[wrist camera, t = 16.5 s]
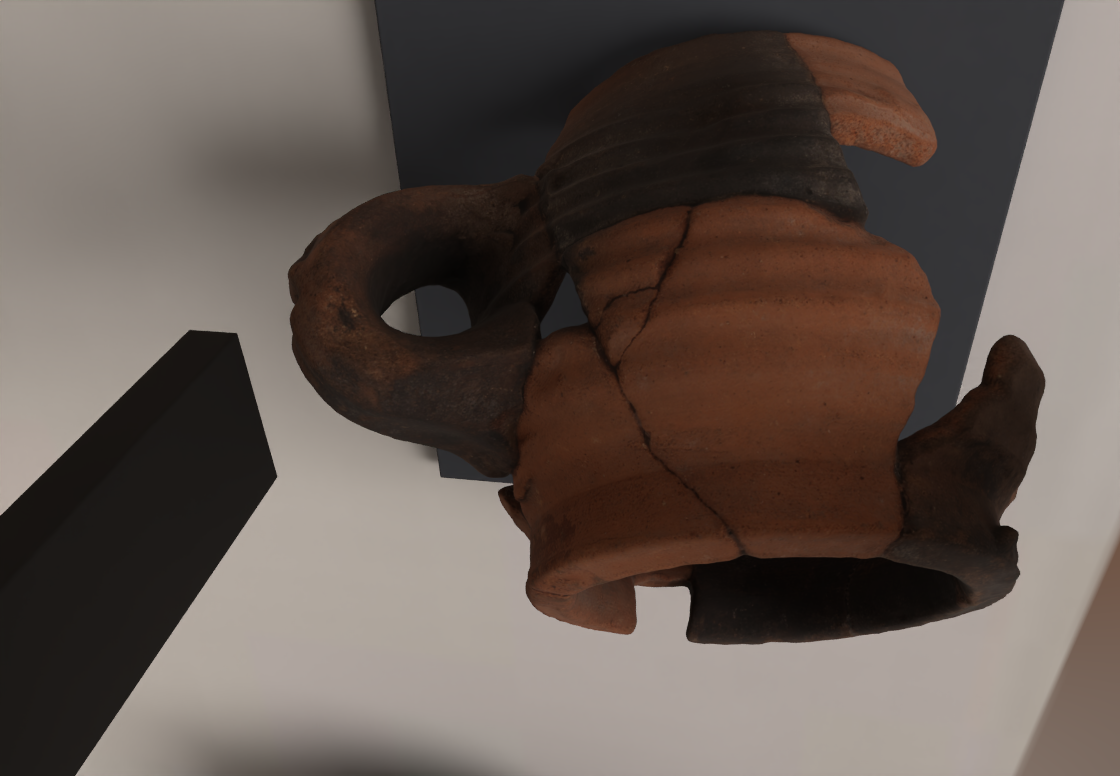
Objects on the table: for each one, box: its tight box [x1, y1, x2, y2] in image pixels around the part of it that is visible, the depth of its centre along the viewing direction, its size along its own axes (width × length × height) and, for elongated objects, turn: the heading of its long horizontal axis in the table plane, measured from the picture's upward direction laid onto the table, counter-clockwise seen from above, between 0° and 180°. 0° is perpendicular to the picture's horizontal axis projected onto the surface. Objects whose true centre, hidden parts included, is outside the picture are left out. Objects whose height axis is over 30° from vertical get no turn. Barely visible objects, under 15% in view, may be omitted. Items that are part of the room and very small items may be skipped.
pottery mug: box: [288, 30, 1045, 645], centre depth 15 cm, size 12×10×8 cm
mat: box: [375, 0, 1064, 483], centre depth 17 cm, size 11×11×1 cm
